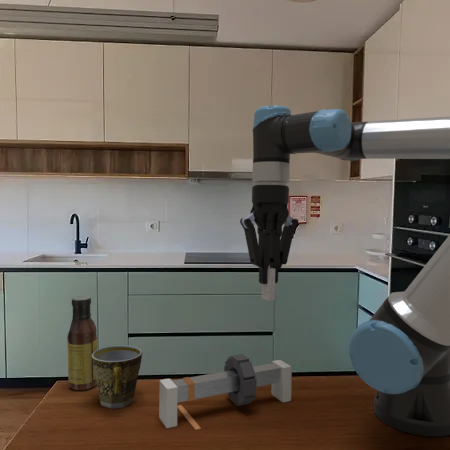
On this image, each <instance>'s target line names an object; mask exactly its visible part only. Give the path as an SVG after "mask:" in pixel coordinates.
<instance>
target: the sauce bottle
mask: <svg viewBox="0 0 450 450" xmlns="http://www.w3.org/2000/svg"><path fill="white" fill-rule="evenodd" d="M91 305H92V297H91V296H89V295H81V296H79V295H78V296H73V297H72V298H71V306H72V316H71V317H72V319H71V324H70V328H69V330H68V333H67V335H66V336H67V337H66V338H67V339H66V340H67V370H68V372H67V373H68V374H67V377H68V382H69V383H68V384H69V387H70V388H71V389H72V390H75V391H85V390H91V389H92V388H95V387H96V386H98V385H97V379H96V376H95V372H94V367H93V361H92V354H93V353H94V352H95V351H97V350H98V337H97V326H96V323H95V322H94V320H93V319H92V314H91Z"/></svg>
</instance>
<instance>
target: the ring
mask: <svg viewBox="0 0 450 450" xmlns="http://www.w3.org/2000/svg"><path fill="white" fill-rule="evenodd" d="M224 364H225V365H224V366H223V370H224V371H223V372H225V371H231V370H237V372H238V375H239V378H240V390H239V391H234V392H229V393H227V395H228V397H229V398H230V400H231V402H233V404H235V405H236V406H237V407H240V406H245V405H249V404H251V403H252V402H253V401H254V399H256V395H257V388H258V387H257V379H256V378H254V377H255V376H256V374H255V371H254V369H253V367H254V365H253V364H252V361H251V360H250V358H248V357H247V356H246V355H244V354H242V353H241V354H234V355H230V356H229V357H228V358H227V359H226V361H225V362H224Z"/></svg>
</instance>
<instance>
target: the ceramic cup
mask: <svg viewBox="0 0 450 450" xmlns="http://www.w3.org/2000/svg"><path fill="white" fill-rule="evenodd" d="M142 358H143V350H142V349H141V348H140V347H137V346H133V345H123V344H121V345H111V346H106V347H101V348H99V349H97V351H95V352H94V353H93V354H92V361H93V367H94V372H95V376H96V379H97V385H96V386H97V391H98V397H99V402H100V405H101V406H102V407H104V408H108V409H112V410H113V409H123V408H125V407H127V406H129V405H131V404H132V403H133V402H134V399H135V396H136V395H135V393H136V388H137V383H138V382H137V381H138V378H139V377H138V376H139V373H140V369H141V365H142V364H141V363H142Z"/></svg>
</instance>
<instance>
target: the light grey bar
mask: <svg viewBox="0 0 450 450" xmlns="http://www.w3.org/2000/svg"><path fill="white" fill-rule="evenodd" d="M253 369H254V371H255V374H256V376H255V377H254V378H256V379H257V387H256V388H258V387H264V386H269V385H270V386H271V385H272V384H275V383H280V382H281V377H282V368H281V367H279V366H278V365H276V364H274V363H272V362H271V363H267V364H260V365H253ZM171 380H172V382H173V383H174V384H175V385H176V386H177V387H178V392H177V404H178V403H182V402H183V403H184V402H186V401H188V402H190V401H195V400H198V399H203V398H208V397H213V396H219V395H224V394H228V393H229V392H234V391H239V390H240V378H239V375H238V372H237V370H231V371H225V372H224V371H221V372H215V373H208V374H204V375H203V374H202V375H197V376H191V377H190V376H186V377H182V378H179V379H174V380H173V379H171Z"/></svg>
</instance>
